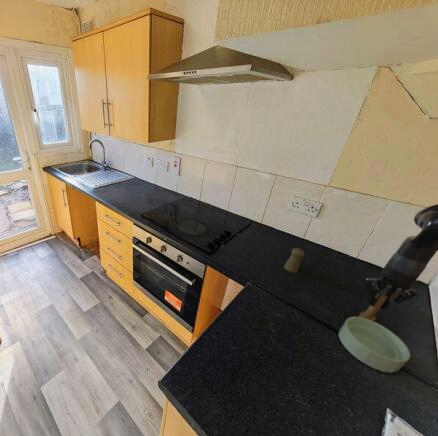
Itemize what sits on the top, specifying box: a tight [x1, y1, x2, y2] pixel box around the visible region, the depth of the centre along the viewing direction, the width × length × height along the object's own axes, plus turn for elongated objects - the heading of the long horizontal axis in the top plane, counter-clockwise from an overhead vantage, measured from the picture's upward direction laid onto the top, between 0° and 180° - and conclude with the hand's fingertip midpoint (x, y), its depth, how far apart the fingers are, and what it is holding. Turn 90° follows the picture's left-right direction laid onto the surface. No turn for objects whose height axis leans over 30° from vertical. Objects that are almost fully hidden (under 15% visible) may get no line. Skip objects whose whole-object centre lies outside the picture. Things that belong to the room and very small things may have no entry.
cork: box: [283, 247, 306, 274], centre depth 107 cm, size 6×6×11 cm
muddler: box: [357, 293, 388, 322], centre depth 81 cm, size 4×4×13 cm
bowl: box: [338, 316, 411, 374], centre depth 72 cm, size 15×15×6 cm
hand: (375, 305), depth 80 cm, fingers closed on muddler, 2 cm apart
